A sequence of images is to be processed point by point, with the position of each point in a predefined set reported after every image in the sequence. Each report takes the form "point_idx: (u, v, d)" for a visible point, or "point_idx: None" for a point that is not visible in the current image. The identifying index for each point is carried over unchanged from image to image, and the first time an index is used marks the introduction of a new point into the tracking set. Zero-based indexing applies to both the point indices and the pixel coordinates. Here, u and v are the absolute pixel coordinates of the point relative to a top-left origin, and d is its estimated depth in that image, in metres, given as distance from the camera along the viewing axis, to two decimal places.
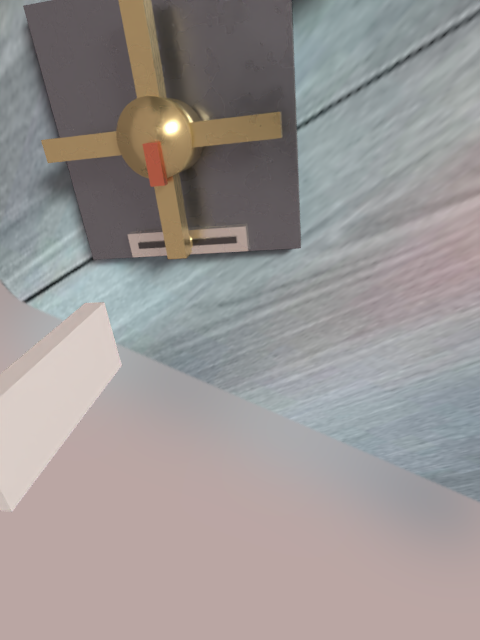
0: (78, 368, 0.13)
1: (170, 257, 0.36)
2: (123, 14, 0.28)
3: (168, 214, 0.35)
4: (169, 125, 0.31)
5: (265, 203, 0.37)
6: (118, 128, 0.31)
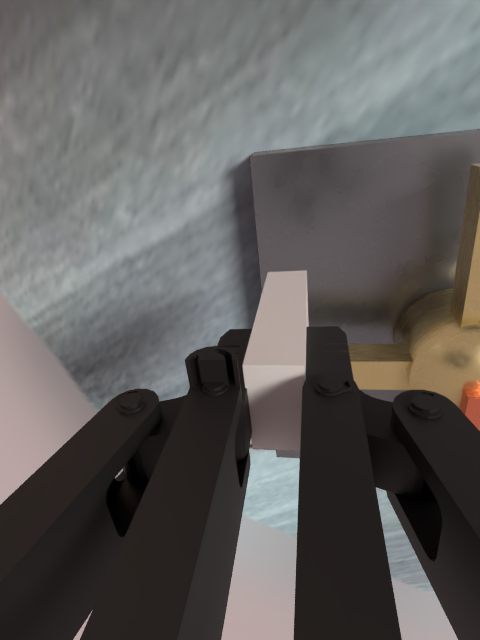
0: None
1: None
2: None
3: None
4: None
5: None
6: (421, 366, 0.20)
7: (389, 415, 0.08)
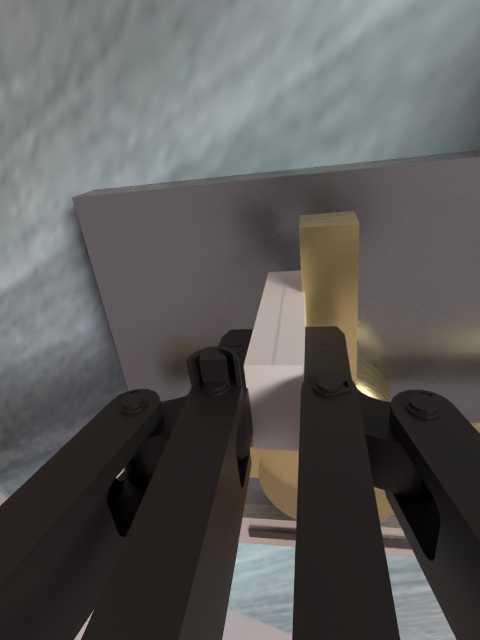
0: None
1: None
2: (306, 280, 0.13)
3: None
4: None
5: None
6: (265, 457, 0.16)
7: (387, 415, 0.08)
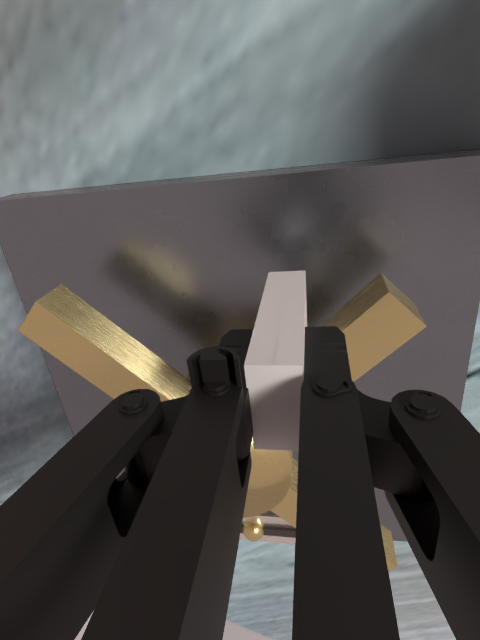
0: None
1: None
2: (351, 329, 0.14)
3: None
4: (260, 481, 0.17)
5: None
6: None
7: (387, 415, 0.08)
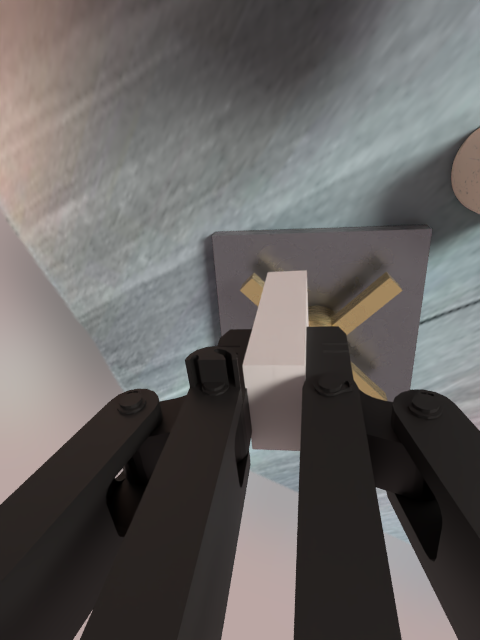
0: None
1: None
2: (375, 291, 0.38)
3: None
4: None
5: (383, 379, 0.47)
6: None
7: (389, 415, 0.08)
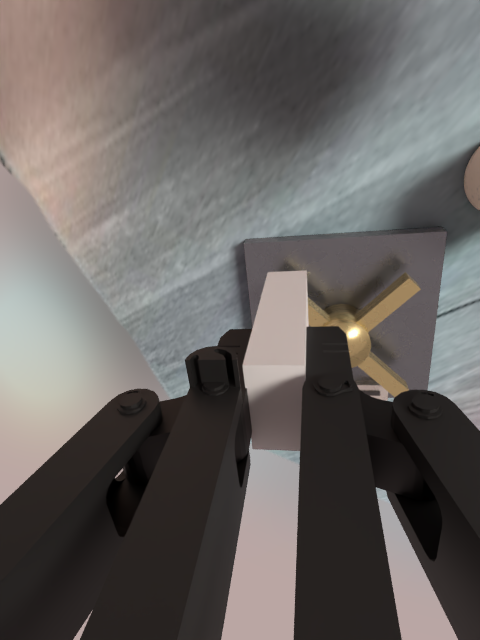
0: None
1: None
2: (396, 290, 0.41)
3: None
4: (358, 350, 0.45)
5: (403, 369, 0.51)
6: None
7: (389, 415, 0.08)
